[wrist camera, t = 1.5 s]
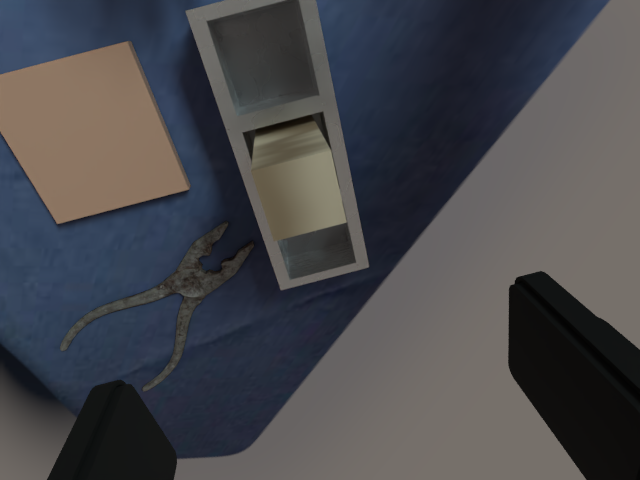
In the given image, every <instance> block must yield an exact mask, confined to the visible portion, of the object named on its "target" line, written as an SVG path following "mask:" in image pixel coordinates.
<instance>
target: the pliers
mask: <svg viewBox="0 0 640 480" xmlns="http://www.w3.org/2000/svg"><path fill="white" fill-rule="evenodd" d="M228 223H229V222H227V221H225V222H224V223H222V224H220V225H219V226H217V227H216V228H214V229H213V230H211V231H210V232H208V233H207V234H205V235H204V236H202V237H201V238H199V239H198V240H196V241H194V242H193V244H192V246H191V247H190V249H189V250H188V252H187V253H186V255H185V257H184V258H183V260H182V261H181V263H180V264H179V266H178V268H177V269H176V271H175V272H174V273H173V274H171V275H170V276H169V277H168V278H167V279H165V280H164V281H163V282H162V283H160V284H159V285H157V286H156V287H154V288H152V289H149V290H147V291H144V292H142V293H139V294H136V295H133V296H130V297H126V298H123V299H120V300H117V301H114V302H111V303H108V304H105V305H103V306H100V307H98V308H96V309H94V310H93V311H91V312H89V313H87V314H86V315H85V316H84V317H82V318H81V319H80V320H79V321H78V322H77V323H76V324H75V325H74V326H73V327H72V328H71V329H70V330H69V332H68V333H67V334H66V336H65V338H64V339H63V341H62V343H61V346H60V349H61V351H64V350H66V349H67V348H68V346H69V344H70V343H71V341H72V339H73V338H74V337H75V335H76V334H77V333H78V332H79V331H80V330H81V329H82V328H83V327H84V326H86V325H87V324H88V323H90V322H91V321H93V320H94V319H97V318H99V317H101V316H103V315H106V314H109V313H112V312H115V311H119V310H122V309H126V308H130V307H134V306H138V305H143V304H146V303H150V302H154V301H156V300H159V299H161V298H164V297H166V296H169V295H171V294H173V293H178V292H179V293H180V294H182V295H184V298H183V301H182V304H181V306H180V310H179V313H178V317H177V325H176V339H175V347H174V352H173V355H172V358H171V360H170V362H169V363H168V365H167V366H166V367H165V369H164V370H163V371H162V372H161V373H160V374H159V375H158V376H157V377H156V378H154V379H153V380H152V381H150V382H149V383H147V384H146V385H144V386H143V388H142V390H143V391H147V390H149V389H151V388H153V387H154V386H156V385H157V384H159V383H160V382H161V381H162V380H164V379H165V378H166V377H167V376H168V375H169V374H170V373H171V372H172V370H173V369H174V368H175V367H176V365H177V364H178V362H179V360H180V358H181V356H182V353H183V350H184V346H185V341H186V336H187V331H188V326H189V322H190V318H191V315H192V313H193V311H194V309H195V308H196V306H197V305H199V304H200V302H201V301H202V300H203V299H204V298H205V296H206V295H207V294H209V293H211V292H212V291H213V290H215V289H216V288H218V287H219V286H220V285H222V284H223V283H224V282H225V281H227V280H228V279H229V278H231V277H232V276H233V275H234V274H236V272H237V271H238V269H239V268H240V266H241V265H242V263H243V262H244V260H245V259H246V257H247V256H248V254H249V253H250V251H251V250H252V248H253V247H254V242H253V241H251V242H250V243H248V244H247V245H245V246H244V247H242V248H241V249H239V250H238V252H237V254H236V255H235V256H234V257H233V258H229V259H228V258H227V259H224V260H223V261H222V263H221V265H222V269H221V270H220V271H213V270H210V269H209V270H208V271H205V270H204V269H202V265H203V264H202V263H201V262H200V261H199V258H200V257H201V256H203V255H207V256H209V255H210V254H211V252H212V244H213V243H214V242H215V241H216V240H217V241H218V240H219V239H220V237H221V236H222V234H223V232H224V231H225V229H226V228H227V226H228Z"/></svg>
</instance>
